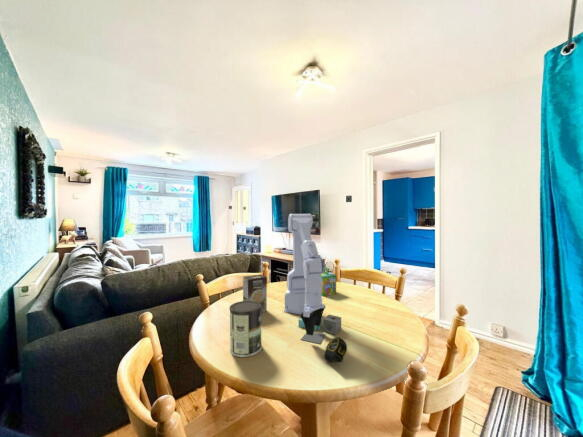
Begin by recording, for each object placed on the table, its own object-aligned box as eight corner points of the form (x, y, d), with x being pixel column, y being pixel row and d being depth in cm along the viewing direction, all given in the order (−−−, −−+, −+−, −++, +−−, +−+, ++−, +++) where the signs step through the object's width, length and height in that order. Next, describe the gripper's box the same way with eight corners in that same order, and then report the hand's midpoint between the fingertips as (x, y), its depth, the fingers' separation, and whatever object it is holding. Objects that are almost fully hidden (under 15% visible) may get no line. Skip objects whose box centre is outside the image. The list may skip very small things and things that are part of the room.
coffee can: (259, 338, 87) (258, 299, 87) (264, 354, 77) (264, 309, 77) (229, 343, 84) (228, 302, 84) (230, 360, 74) (230, 313, 74)
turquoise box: (298, 327, 95) (298, 319, 95) (302, 322, 99) (302, 315, 99) (318, 331, 92) (318, 323, 92) (321, 326, 96) (321, 318, 96)
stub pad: (300, 340, 85) (300, 339, 85) (307, 331, 92) (307, 330, 92) (320, 344, 82) (320, 343, 82) (325, 335, 89) (325, 334, 89)
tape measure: (330, 364, 73) (320, 356, 73) (339, 343, 77) (331, 335, 77) (343, 366, 68) (333, 357, 68) (352, 343, 72) (343, 335, 72)
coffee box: (248, 316, 105) (248, 279, 105) (242, 312, 111) (242, 276, 111) (267, 312, 111) (267, 276, 110) (260, 307, 116) (260, 273, 116)
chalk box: (313, 293, 136) (313, 267, 136) (326, 291, 141) (326, 265, 140) (323, 298, 128) (323, 270, 128) (337, 295, 133) (336, 268, 132)
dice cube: (335, 335, 89) (335, 322, 88) (323, 332, 91) (323, 318, 91) (341, 330, 93) (341, 317, 93) (329, 327, 95) (329, 314, 95)
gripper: (317, 299, 79) (317, 341, 79) (329, 287, 92) (330, 323, 92) (297, 296, 81) (297, 337, 82) (312, 285, 95) (312, 320, 95)
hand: (313, 329), depth 87 cm, fingers open, 7 cm apart
